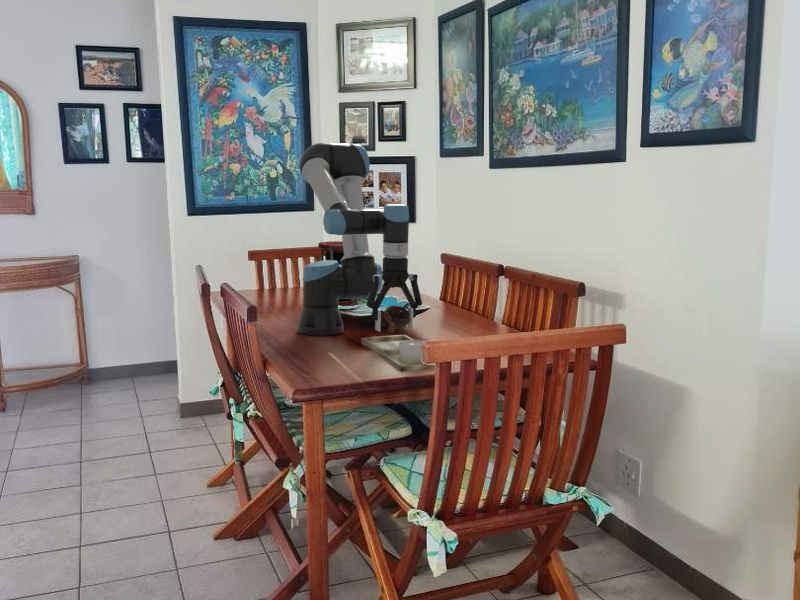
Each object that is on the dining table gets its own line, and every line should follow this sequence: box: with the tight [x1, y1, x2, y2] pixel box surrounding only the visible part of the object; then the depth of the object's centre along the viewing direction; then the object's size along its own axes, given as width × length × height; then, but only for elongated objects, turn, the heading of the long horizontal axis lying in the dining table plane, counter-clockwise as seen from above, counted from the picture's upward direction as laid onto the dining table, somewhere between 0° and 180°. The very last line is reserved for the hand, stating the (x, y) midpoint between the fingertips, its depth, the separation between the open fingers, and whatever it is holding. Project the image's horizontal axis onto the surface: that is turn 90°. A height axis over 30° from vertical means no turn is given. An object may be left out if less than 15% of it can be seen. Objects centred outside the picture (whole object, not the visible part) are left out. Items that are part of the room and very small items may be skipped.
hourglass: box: [317, 240, 360, 306], centre depth 286 cm, size 16×16×25 cm
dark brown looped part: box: [370, 305, 410, 333], centre depth 223 cm, size 12×10×8 cm
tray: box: [360, 334, 435, 372], centre depth 216 cm, size 15×35×2 cm, turn 21°
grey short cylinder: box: [399, 339, 425, 365], centre depth 207 cm, size 9×9×5 cm
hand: (394, 329), depth 222 cm, fingers closed on dark brown looped part, 10 cm apart
